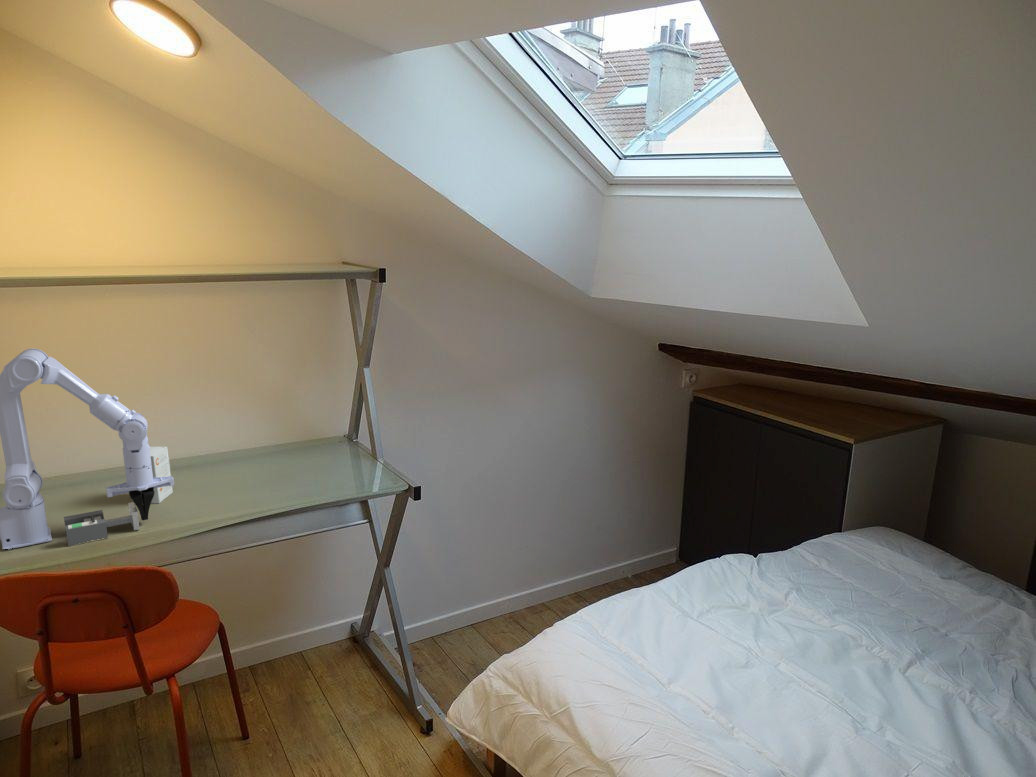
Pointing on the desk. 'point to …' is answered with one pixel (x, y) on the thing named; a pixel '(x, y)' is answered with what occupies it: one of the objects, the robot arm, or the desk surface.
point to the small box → (160, 472)
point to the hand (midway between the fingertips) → (144, 518)
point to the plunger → (120, 518)
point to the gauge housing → (85, 528)
